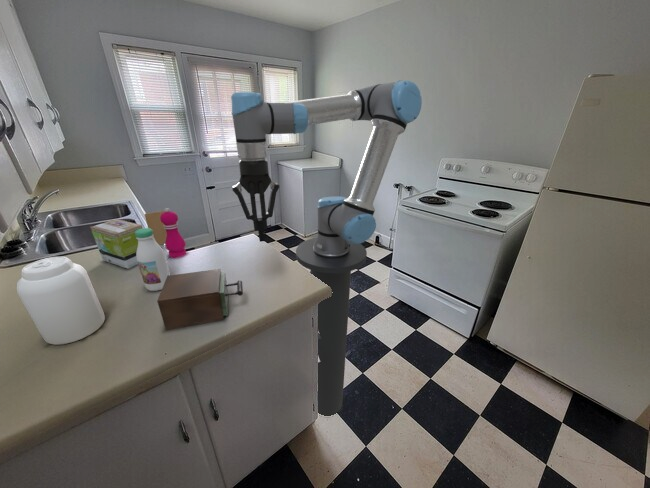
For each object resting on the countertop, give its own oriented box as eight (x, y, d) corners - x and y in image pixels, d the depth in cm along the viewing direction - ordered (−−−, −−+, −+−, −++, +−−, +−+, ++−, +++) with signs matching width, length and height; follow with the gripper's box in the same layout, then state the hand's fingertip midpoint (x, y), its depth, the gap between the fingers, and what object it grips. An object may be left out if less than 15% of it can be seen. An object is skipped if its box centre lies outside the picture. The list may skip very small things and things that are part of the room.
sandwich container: (169, 231, 134) (162, 201, 128) (175, 241, 123) (167, 210, 116) (149, 234, 129) (140, 204, 123) (153, 246, 118) (144, 213, 112)
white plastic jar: (30, 345, 67) (-12, 276, 58) (75, 312, 78) (46, 250, 69) (79, 347, 66) (44, 278, 58) (117, 314, 77) (92, 252, 69)
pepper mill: (163, 257, 109) (151, 209, 101) (177, 249, 116) (166, 204, 107) (178, 259, 108) (167, 211, 99) (191, 251, 114) (181, 206, 105)
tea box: (101, 261, 105) (88, 226, 99) (127, 251, 113) (116, 218, 107) (127, 269, 100) (115, 232, 94) (152, 258, 108) (142, 223, 102)
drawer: (243, 290, 88) (240, 269, 84) (245, 312, 78) (242, 289, 74) (182, 299, 83) (176, 278, 79) (175, 324, 73) (168, 300, 69)
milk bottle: (162, 276, 96) (147, 224, 87) (177, 282, 93) (163, 228, 84) (140, 287, 89) (122, 232, 81) (155, 294, 86) (138, 237, 78)
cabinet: (224, 294, 87) (220, 268, 83) (223, 320, 76) (218, 291, 72) (174, 302, 83) (167, 275, 79) (165, 330, 72) (156, 301, 68)
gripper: (275, 156, 77) (281, 232, 87) (227, 158, 73) (239, 237, 83) (279, 159, 70) (285, 241, 80) (227, 162, 67) (240, 247, 77)
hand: (261, 239), depth 82 cm, fingers closed
